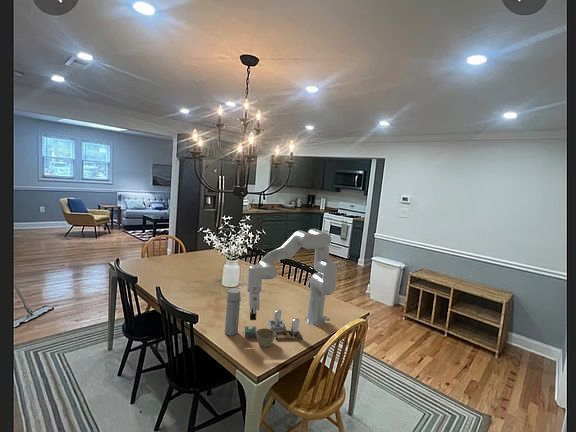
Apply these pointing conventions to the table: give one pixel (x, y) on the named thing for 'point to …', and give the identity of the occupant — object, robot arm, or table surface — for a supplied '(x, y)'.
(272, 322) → the tote
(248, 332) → the console
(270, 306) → the table surface
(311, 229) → the robot arm
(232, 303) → the water bottle
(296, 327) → the billet
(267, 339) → the flower pot
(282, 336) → the pallet board
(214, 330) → the table surface
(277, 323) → the billet
